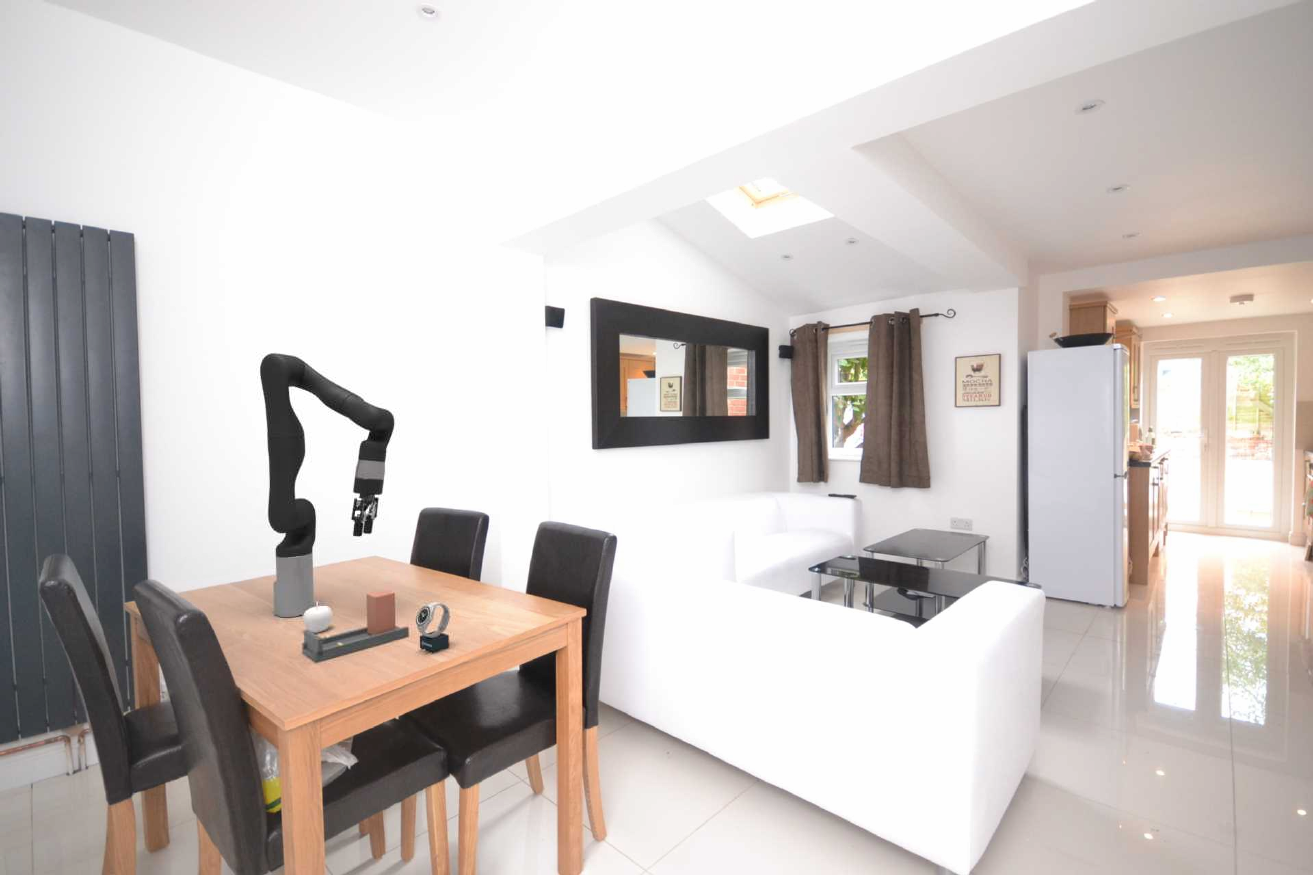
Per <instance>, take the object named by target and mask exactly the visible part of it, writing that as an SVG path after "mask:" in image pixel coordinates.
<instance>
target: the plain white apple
mask: <svg viewBox="0 0 1313 875" xmlns="http://www.w3.org/2000/svg"><path fill="white" fill-rule="evenodd" d="M315 602H316V604H315V605H316V606H314V607H313V608H310V609H308V610H307V611H305V613H304V615H302V623H303V625H304V627H305V628H306V630H309V631H311V632H313V633H314V634H317V633H322V632H324V631H326V630H327V629H328V628H329V626H330V624H331V622H332V619H333V617H334V613H333V610H332V609H331V608H330V607H329V606H327V605H319V601H318V600H317V601H315Z"/></svg>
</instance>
